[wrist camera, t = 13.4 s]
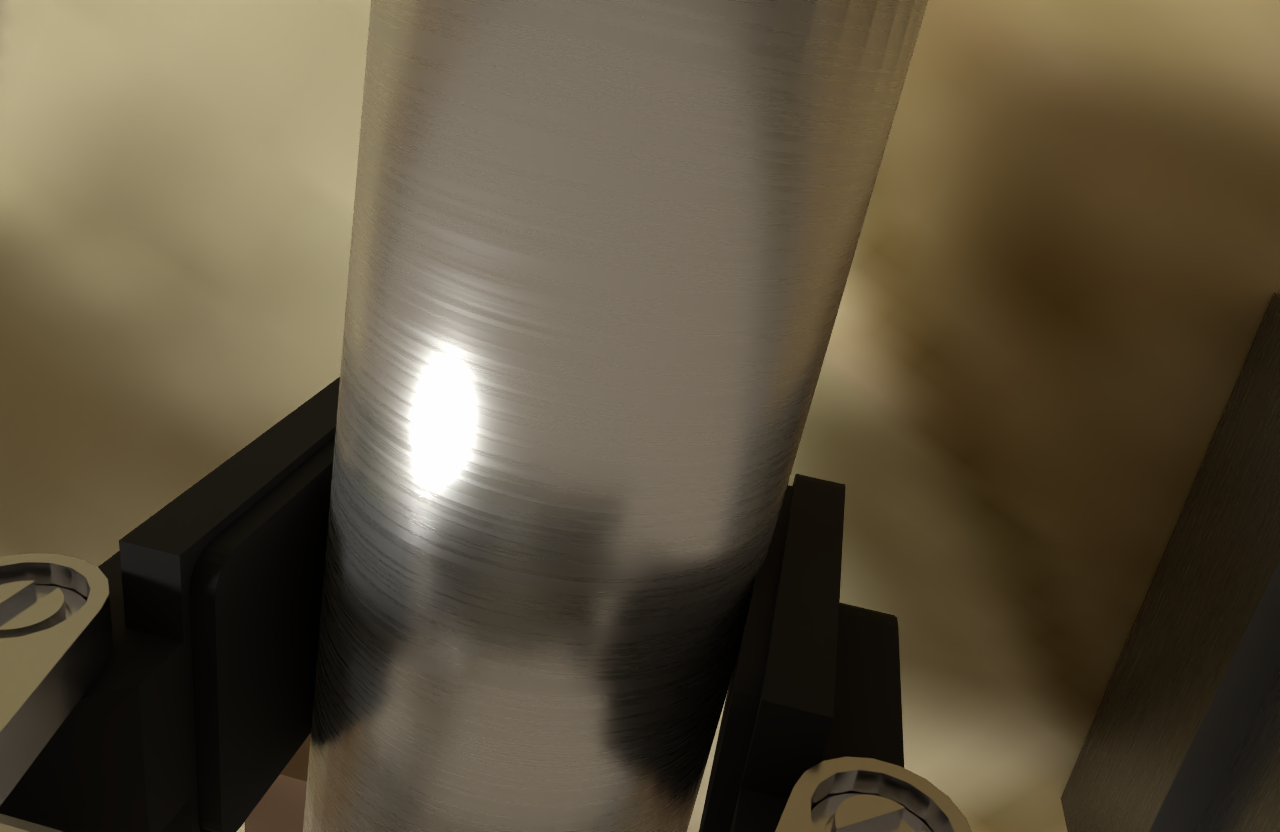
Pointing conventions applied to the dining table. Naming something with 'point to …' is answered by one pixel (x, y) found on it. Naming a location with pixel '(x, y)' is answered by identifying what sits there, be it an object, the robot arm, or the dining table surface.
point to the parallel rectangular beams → (284, 798)
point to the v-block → (1203, 647)
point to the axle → (576, 390)
